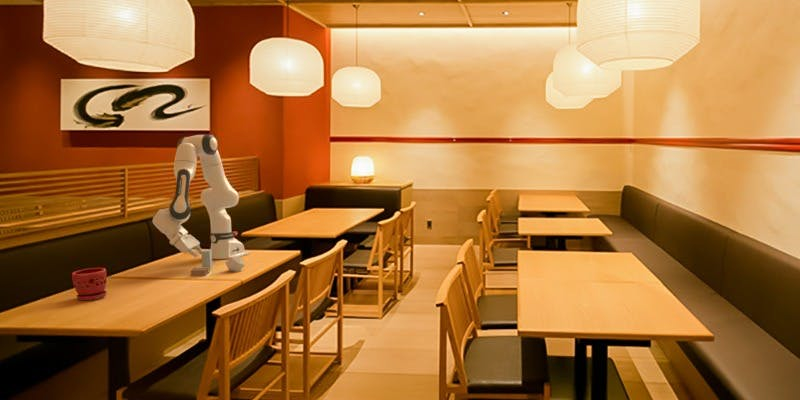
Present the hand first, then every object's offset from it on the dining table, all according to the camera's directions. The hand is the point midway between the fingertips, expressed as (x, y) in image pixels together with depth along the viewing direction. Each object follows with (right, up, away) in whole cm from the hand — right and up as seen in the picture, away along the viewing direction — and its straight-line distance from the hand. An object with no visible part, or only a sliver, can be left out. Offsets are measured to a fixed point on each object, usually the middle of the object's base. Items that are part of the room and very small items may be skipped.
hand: (199, 254), depth 335 cm
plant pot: (-30, -14, -54) cm, 63 cm away
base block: (+4, -9, -12) cm, 15 cm away
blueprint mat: (+4, -9, -11) cm, 15 cm away
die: (+19, -8, -3) cm, 21 cm away
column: (+3, -8, +2) cm, 9 cm away
